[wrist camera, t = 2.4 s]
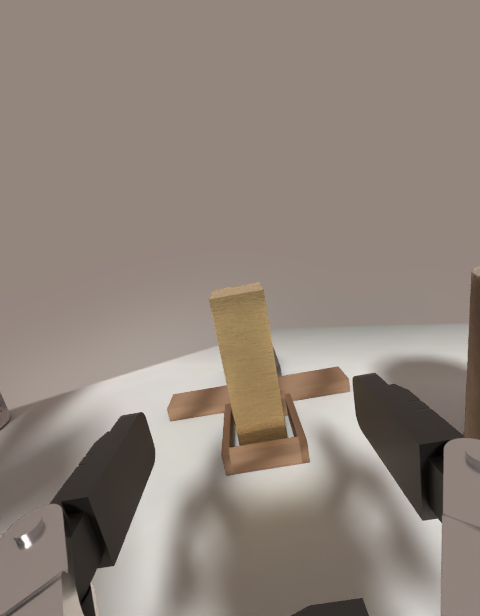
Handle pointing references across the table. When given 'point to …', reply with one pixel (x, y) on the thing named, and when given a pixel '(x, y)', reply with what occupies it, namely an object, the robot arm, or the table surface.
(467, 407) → the pillar candle
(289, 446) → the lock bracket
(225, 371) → the tan wooden block
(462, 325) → the table surface
